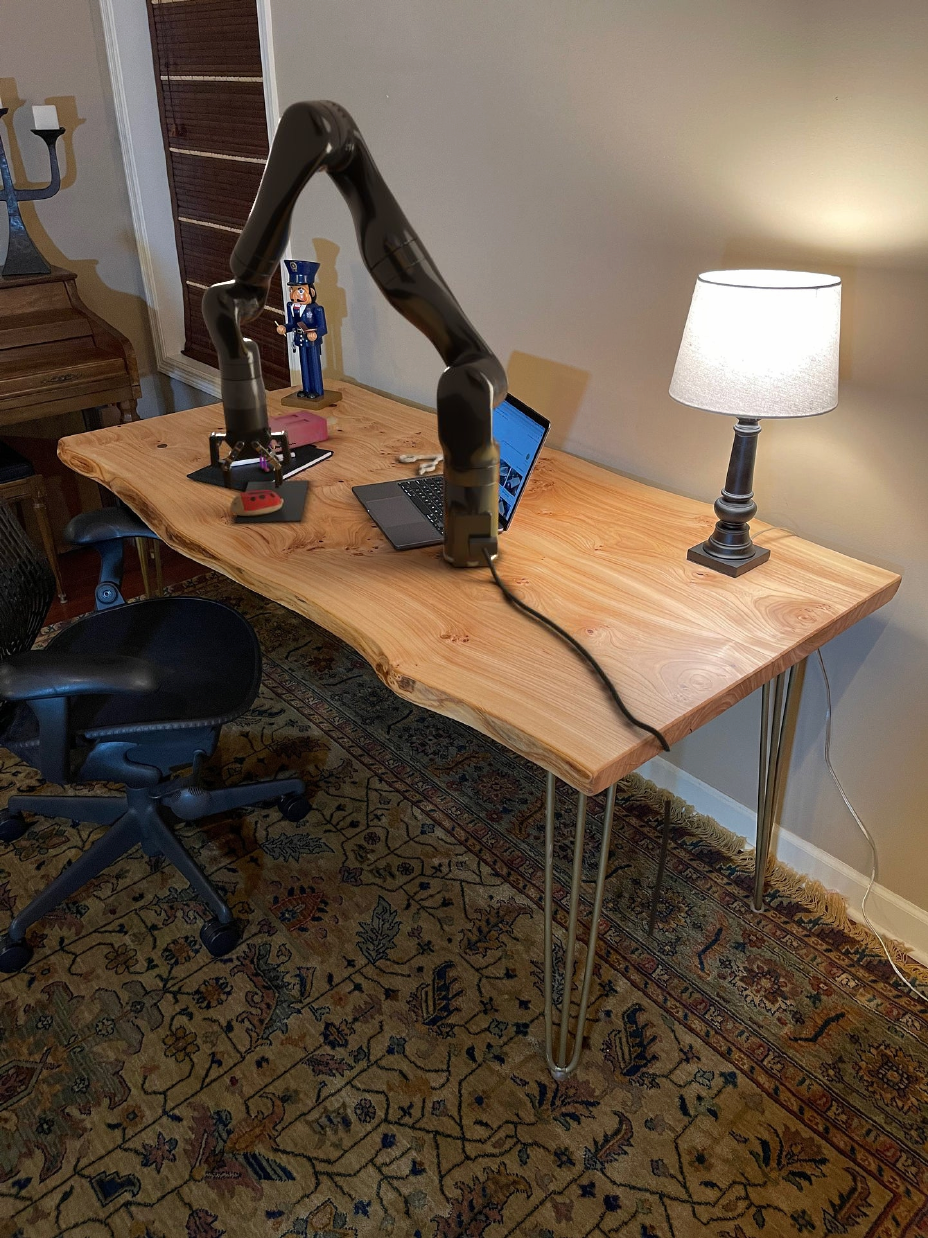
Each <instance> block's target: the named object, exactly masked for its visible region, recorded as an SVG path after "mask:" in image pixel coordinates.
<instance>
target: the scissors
mask: <svg viewBox="0 0 928 1238" xmlns="http://www.w3.org/2000/svg"><path fill="white" fill-rule="evenodd" d="M424 459H426V460H427V459H429V460H433V461H430V462H422V463H420V465H419V470H418V475H419V476H421V475H423V474H425V472H432V471H435V469H436V465H438V464H439V462H441V461H443V452H442V453H441V452H440V453H436V454H435V453H434V454H420V455H418V454H416V455H415V454H408V453H407V454H402V455H399V457H398V460H399V462H401V463H413V462H415V461H417V460H424Z"/></svg>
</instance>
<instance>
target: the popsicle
mask: <svg viewBox="0 0 928 1238" xmlns="http://www.w3.org/2000/svg"><path fill="white" fill-rule="evenodd" d="M268 423H269V427H271V432H272V433H281V432H282V431H283V430H285V431H287V433H288V439H289V444H292V443H296V444H292V445H290V450H291V449H294V448H299V447H303V446H306V445H310V444H315V443H319V442H322V441H327V440H328V439H329V434H328V433H329V431H328V426H330V425H334V424H339V420H338V418H337V417H333V416H331V417H327V418H325V417H323V416H320V415H318V414H315V413H314V412H311V411H308V410H306V409H305V410H300V411H296V412H290V413H287V414H281V415H278V416H273V417H268ZM270 444H272V445H275V446H280V445H278V444H277V442H276V441H275V440H272V442H271V443H270ZM273 450H274V452H275V453H278V452H282V449H281V447H280V448H276V449H273Z"/></svg>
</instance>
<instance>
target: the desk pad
mask: <svg viewBox="0 0 928 1238" xmlns="http://www.w3.org/2000/svg"><path fill="white" fill-rule="evenodd" d="M309 482H310V481H309V480H283V483H282V485H280V488H277V489H276V488H275V480H274V481H273V480H272V481H269V480H268V481H248V482H247V485H246V488H245V490H244V492H248V491H253V490H270V491H273V492H275V493H276V494H277V495H278V496H279V497H280V499H283V503H282V507H281V508H280V509H278V510H276V511H274V512H271V513H268V514H263V515H257V516H239V515H235V519H234V522H233V523H234V524H265V523H267V524H268V523H270V524H273V523H301V522H302V518H303V512H304V507H305V502H306V498H307V493H308V492H307V491H308V487H309V484H310V483H309Z"/></svg>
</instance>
